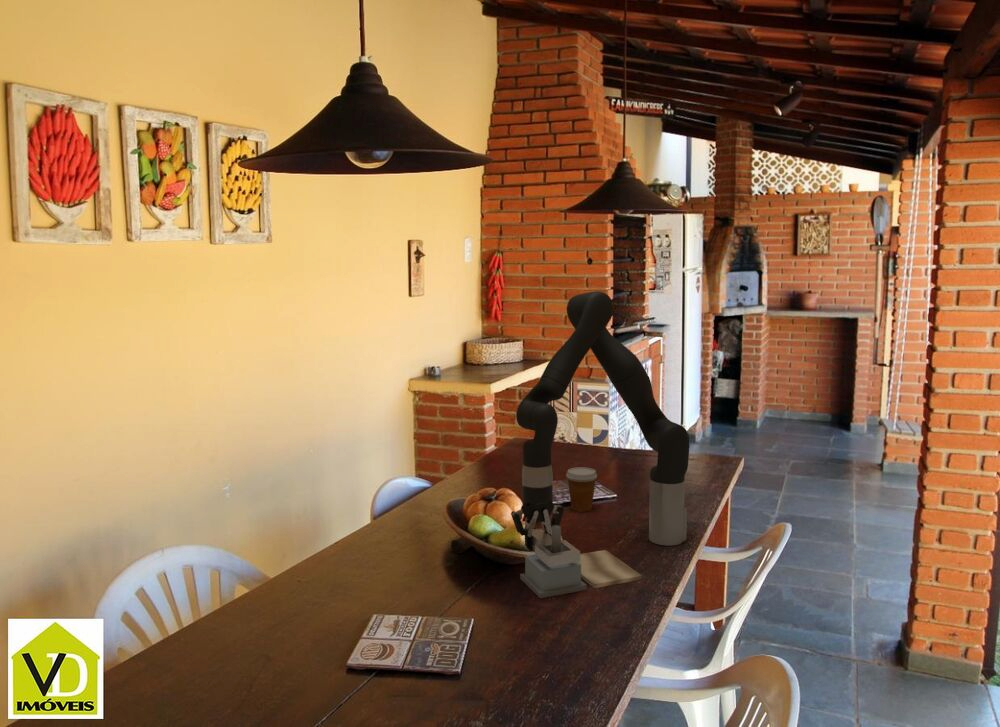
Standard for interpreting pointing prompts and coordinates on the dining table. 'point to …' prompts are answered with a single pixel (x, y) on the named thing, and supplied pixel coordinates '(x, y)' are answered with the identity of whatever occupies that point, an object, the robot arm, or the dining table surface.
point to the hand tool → (459, 546)
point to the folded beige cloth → (605, 569)
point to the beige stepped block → (544, 550)
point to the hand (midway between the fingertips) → (538, 547)
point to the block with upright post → (552, 573)
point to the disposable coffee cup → (581, 488)
